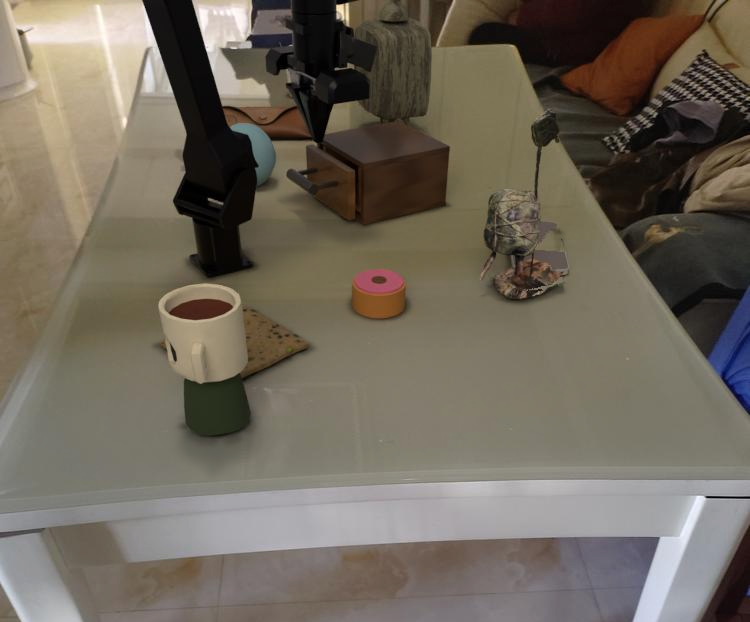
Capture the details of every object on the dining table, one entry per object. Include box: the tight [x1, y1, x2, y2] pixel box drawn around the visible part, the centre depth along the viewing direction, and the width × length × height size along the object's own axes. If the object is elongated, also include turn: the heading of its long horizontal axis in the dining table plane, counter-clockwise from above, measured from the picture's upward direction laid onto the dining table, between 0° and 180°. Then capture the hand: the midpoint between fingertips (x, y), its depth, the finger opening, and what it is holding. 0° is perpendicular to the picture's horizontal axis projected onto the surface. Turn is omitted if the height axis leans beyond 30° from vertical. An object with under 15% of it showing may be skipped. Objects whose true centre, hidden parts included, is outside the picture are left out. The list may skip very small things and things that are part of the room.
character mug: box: [158, 282, 252, 436], centre depth 69 cm, size 11×7×13 cm, turn 3°
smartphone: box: [509, 220, 570, 276], centre depth 103 cm, size 7×1×15 cm
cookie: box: [159, 305, 309, 379], centre depth 83 cm, size 12×12×1 cm
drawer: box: [285, 143, 361, 221], centre depth 111 cm, size 18×12×7 cm
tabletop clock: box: [353, 0, 433, 128], centre depth 130 cm, size 14×9×25 cm, turn 22°
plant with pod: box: [478, 108, 563, 300], centre depth 88 cm, size 8×11×20 cm
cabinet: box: [316, 120, 451, 226], centre depth 113 cm, size 15×14×9 cm
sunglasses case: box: [222, 105, 312, 141], centre depth 137 cm, size 18×7×7 cm
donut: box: [351, 268, 407, 319], centre depth 90 cm, size 6×6×3 cm
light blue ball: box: [230, 123, 277, 187], centre depth 117 cm, size 7×9×12 cm
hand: (318, 142), depth 105 cm, fingers closed
